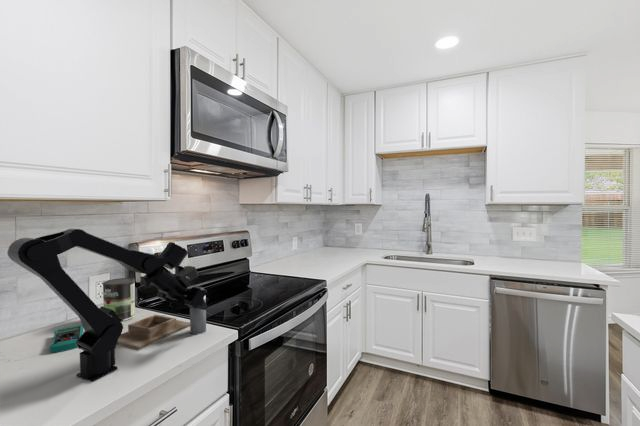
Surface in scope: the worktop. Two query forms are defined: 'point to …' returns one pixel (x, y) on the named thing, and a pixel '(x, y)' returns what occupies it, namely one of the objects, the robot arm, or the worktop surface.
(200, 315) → the grey upright cylinder
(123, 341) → the dock
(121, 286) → the coffee can
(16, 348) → the worktop surface
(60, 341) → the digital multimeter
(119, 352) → the worktop surface
